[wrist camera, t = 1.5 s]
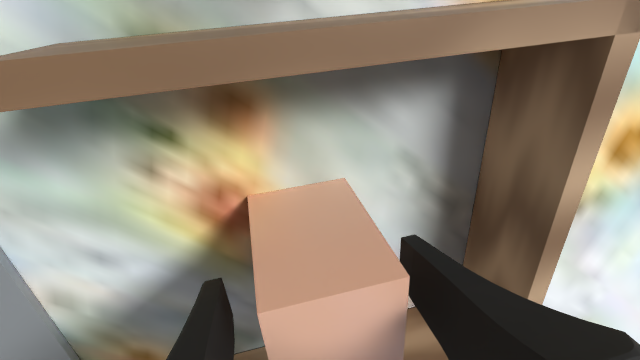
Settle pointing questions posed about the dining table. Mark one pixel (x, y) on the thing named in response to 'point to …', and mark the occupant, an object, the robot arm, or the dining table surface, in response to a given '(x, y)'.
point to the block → (325, 276)
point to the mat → (26, 322)
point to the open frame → (398, 46)
